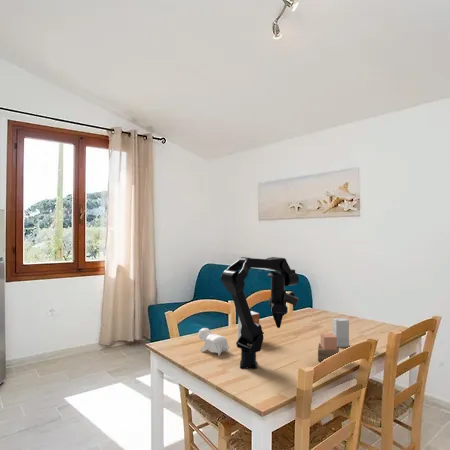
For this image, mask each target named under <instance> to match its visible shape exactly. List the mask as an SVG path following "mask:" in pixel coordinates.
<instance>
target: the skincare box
mask: <svg viewBox="0 0 450 450" xmlns="http://www.w3.org/2000/svg"><path fill="white" fill-rule="evenodd" d="M332 333H333V334H334V335H335V336H336V337H337V345H339V348H345V347H346V348H349V347H350V343H349V342H350V320H349V319H347V318H344V317H343V318H342V317H341V318H332Z"/></svg>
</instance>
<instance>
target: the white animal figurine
mask: <svg viewBox="0 0 450 450" xmlns="http://www.w3.org/2000/svg"><path fill="white" fill-rule="evenodd" d="M198 338H199V339H200V340H201V341H203V342H205V343H204V344H203V346H202V347H201V349H200V352H201V353H203V352H205V351H207V350H208V351H209V352H210V353H216V354H218V355H217V356H218V357H220V356H221V354H222V353H223V352H225V353H226V354H227V353H229V349H230V346H229V343H228V341H227V338H226V337H225V336H223V335H220V334H216V333H212V332H211V330H210V329H209V328H207V327H202V328H201V329H199V331H198Z"/></svg>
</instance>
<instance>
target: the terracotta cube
mask: <svg viewBox="0 0 450 450" xmlns="http://www.w3.org/2000/svg"><path fill="white" fill-rule="evenodd" d="M320 343H321V346H322V348H323V349H324V350H337V337H336V336H335V335H334V334H333V332H332V333H331V332H330V333H328V332H327V333H326V332H325V333H321V332H320Z"/></svg>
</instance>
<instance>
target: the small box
mask: <svg viewBox="0 0 450 450" xmlns="http://www.w3.org/2000/svg"><path fill="white" fill-rule="evenodd" d="M250 312H251V315H252V318H253V321H254V323H257V324H260V313H259V312H256V311H253V310H250ZM237 318H238V320H237V321H238V322H237V323H238V324H237V326H238V327H237V340H238V339H239V338H240V336H241V327H242V324H241V321H240V319H239V316H238V317H237Z"/></svg>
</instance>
